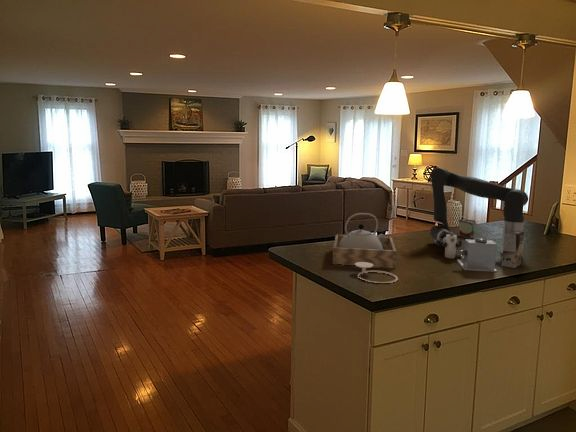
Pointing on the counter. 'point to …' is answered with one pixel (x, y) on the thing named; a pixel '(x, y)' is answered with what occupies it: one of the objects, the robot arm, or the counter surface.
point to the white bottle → (450, 245)
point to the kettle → (361, 237)
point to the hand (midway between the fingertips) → (451, 245)
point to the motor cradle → (478, 255)
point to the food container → (466, 228)
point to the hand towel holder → (369, 265)
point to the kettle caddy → (366, 254)
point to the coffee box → (512, 248)
